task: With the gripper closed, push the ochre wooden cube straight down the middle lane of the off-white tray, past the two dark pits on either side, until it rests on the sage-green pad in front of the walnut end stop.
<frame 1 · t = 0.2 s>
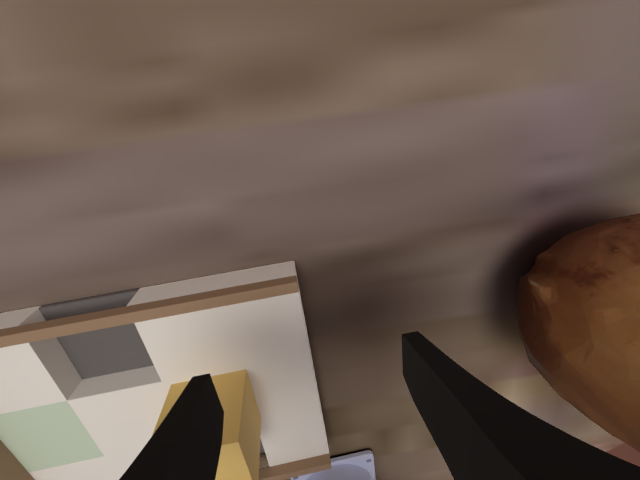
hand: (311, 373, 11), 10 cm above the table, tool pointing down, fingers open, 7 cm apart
brown wooden vase: (555, 270, 24), on the table
trap tray: (169, 390, 23), on the table
block: (218, 402, 22), point 2 cm above the table, touching trap tray
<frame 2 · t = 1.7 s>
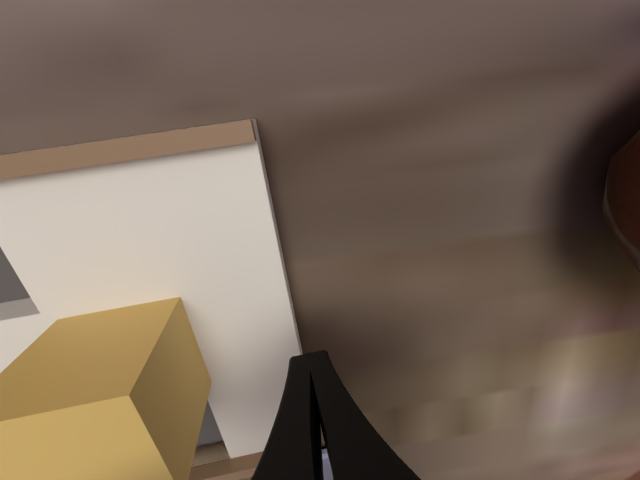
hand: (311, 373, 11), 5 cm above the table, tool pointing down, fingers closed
trap tray: (75, 340, 15), on the table
block: (141, 353, 14), point 2 cm above the table, touching trap tray
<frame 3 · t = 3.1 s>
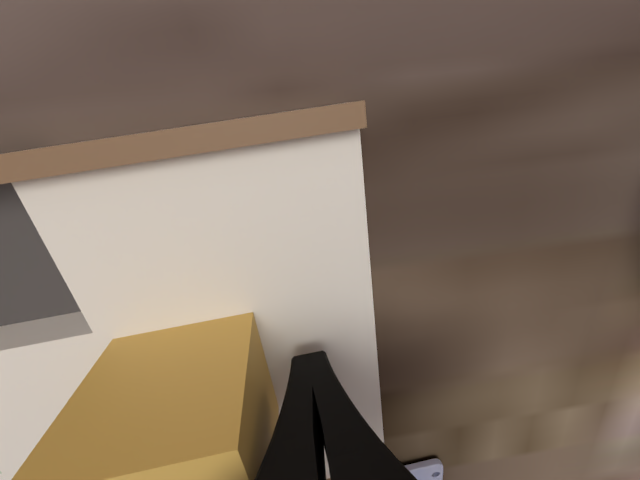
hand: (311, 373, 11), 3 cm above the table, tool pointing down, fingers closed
trap tray: (122, 359, 14), on the table
block: (203, 375, 12), point 2 cm above the table, touching gripper, trap tray
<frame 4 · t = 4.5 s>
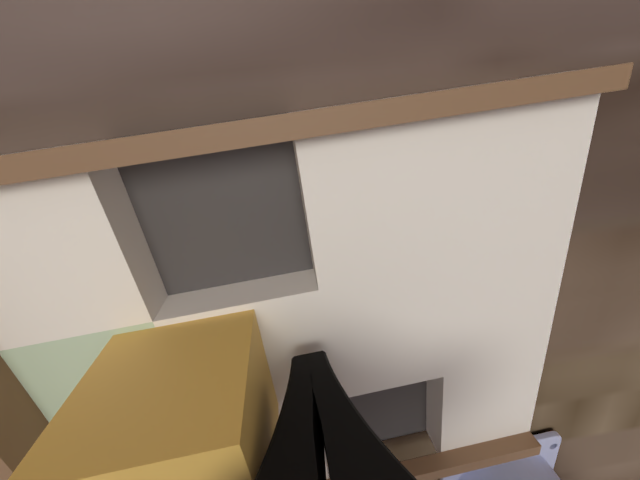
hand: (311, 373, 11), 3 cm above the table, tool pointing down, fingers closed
trap tray: (300, 324, 14), on the table
block: (203, 373, 12), point 2 cm above the table, touching gripper
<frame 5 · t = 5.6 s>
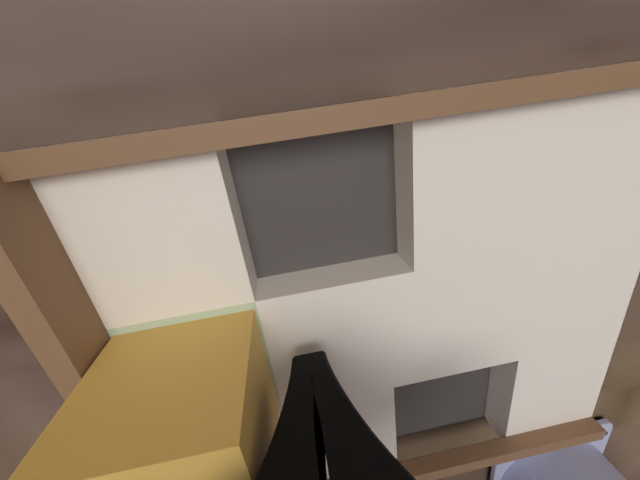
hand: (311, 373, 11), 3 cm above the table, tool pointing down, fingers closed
trap tray: (376, 308, 14), on the table
block: (203, 373, 12), point 2 cm above the table, touching gripper, trap tray
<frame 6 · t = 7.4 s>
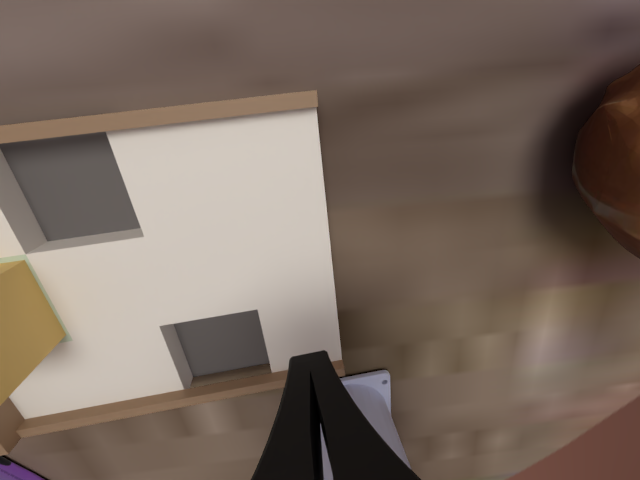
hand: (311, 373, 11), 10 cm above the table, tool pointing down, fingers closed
brown wooden vase: (612, 142, 21), on the table
trap tray: (155, 269, 19), on the table
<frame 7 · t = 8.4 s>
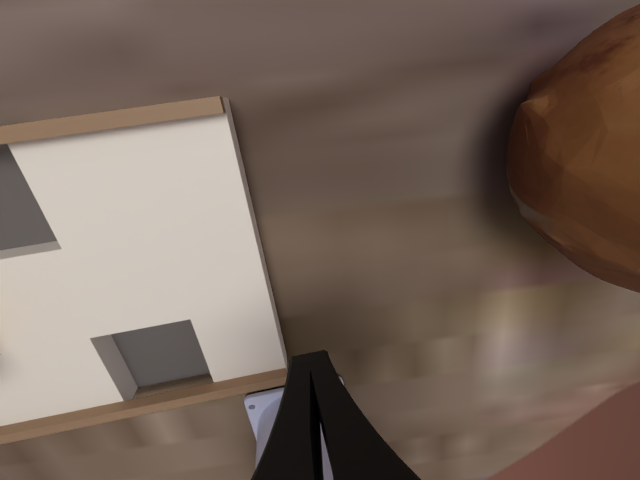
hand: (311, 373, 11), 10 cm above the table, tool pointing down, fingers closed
brown wooden vase: (555, 139, 20), on the table
trap tray: (87, 280, 19), on the table
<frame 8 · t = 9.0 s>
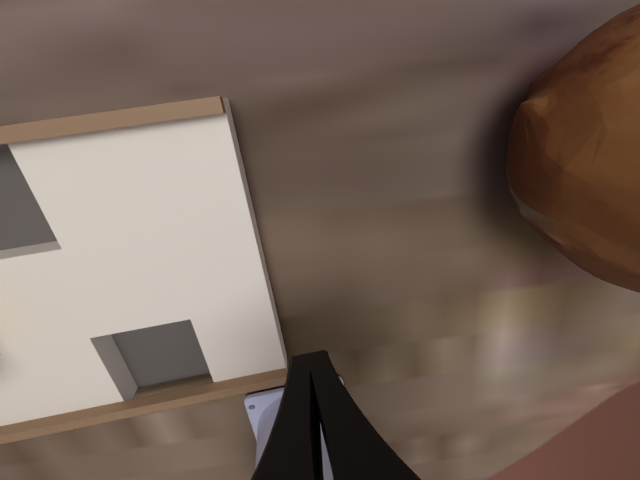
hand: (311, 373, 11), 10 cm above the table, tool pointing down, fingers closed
brown wooden vase: (555, 139, 20), on the table
trap tray: (87, 280, 19), on the table
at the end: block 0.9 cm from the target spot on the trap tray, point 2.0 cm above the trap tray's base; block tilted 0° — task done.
